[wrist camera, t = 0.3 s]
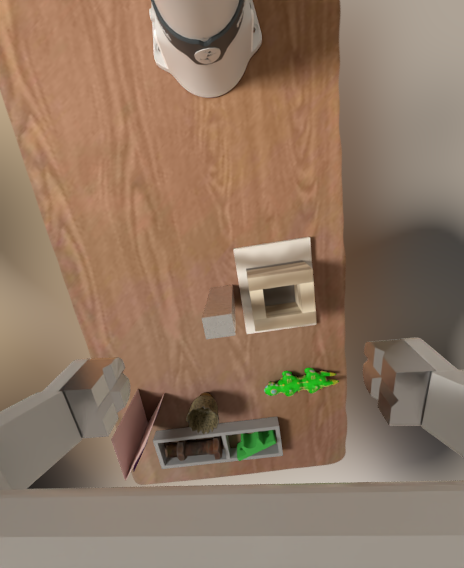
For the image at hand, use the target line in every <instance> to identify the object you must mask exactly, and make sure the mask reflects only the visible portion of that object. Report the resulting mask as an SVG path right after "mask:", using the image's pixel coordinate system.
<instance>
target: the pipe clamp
mask: <svg viewBox="0 0 464 568" xmlns="http://www.w3.org/2000/svg"><path fill="white" fill-rule="evenodd" d="M274 444H276V439H275V433H274V430H268V431H259V432H254V433H252V434H246V433H242V434H241V442H240V443H238V444H237V459H238V460H239V461H241V460H243V459H245V458H247V457H249V456H251V455H253V454H255V453H257V452H259V451H261V450H264V449H266V448H268V447H270V446H272V445H274Z"/></svg>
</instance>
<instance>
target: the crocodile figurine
mask: <svg viewBox="0 0 464 568" xmlns="http://www.w3.org/2000/svg"><path fill="white" fill-rule="evenodd" d="M320 372H321V371H320ZM320 372H318V373H319V374H318V373H317V372H315V371H314V369H312V368H306V369H305V373H306V376H305V375H304V376H303V378H302V377H301V378H302V379H301V378H300V377H299V378H298V377H297V376H295V377H294V376H293V375H292V372H289V371H284V372H283V373H282V375H283V379H282V378H281V380H279V381H278V383H274V382H272V383H270V382H268V383H269V385H268V386H266V387H265V389H264V392H265V393H266V394H267V395H271V396H274V395H276V394H279V392H281V393H284V394H286V396H292V395H293V394H294V393H295V392H296V391H298V392H300V390H301V389H303V388H305V389H303V390H307V391H309V393H315V392H316V391H317V390H318V389H319V388H321V389H322V388H323V387H328V386H330V385H332V384H333V385H334V384H337V383H338V382H339V381H337V380H335V379H333V380H332V379H330V380H327V379H326V377H325V376H332V375H333V376H335V375H336V374H335V373H332V372H330V373H328V372H325V371H322V372H321V373H320Z"/></svg>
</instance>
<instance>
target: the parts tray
mask: <svg viewBox="0 0 464 568" xmlns="http://www.w3.org/2000/svg"><path fill="white" fill-rule="evenodd" d="M268 430H275V431H276V439H277V443H276V444H274V445H272V446H270V447H268V448H266V449H264V450H261V451H259V452H257V453H255V454H253V455H251V456H249V457H247V458H245V459H243V460H248V459H257V458H266V457H275V456H283V451H282V444H281V436H280V429H279V423H278V418H277V417H271V418H262V419H254V420H246V421H237V422H229V423H220V424H218V427H217V428H214V430H213V432H211V430H210V432H209V433H208V434H207V433H205V434H203V433H202V432H201V431H200V433H197V430H196V431H194V432H192V431H191V428H189V427H186V428H178V429H170V430H161V431H156V433H155V436H154V439H153V442H154V445H155V449H156V452H157V455H158V458H159V461H160V464H161V467H162V469H166V468H175V467H184V466H193V465H202V464H211V463H221V462H230V461H239V460H238V459H237V448H230V444H229V439H228V435H233V434H242V433H250V432H259V431H268ZM216 436H222V440H223V445H224V449H223V453H222V458H221V459H218V460H215V456H214V454H213V455H209V454H208V455H197V456H187V458H186V459H185V460H184V461H180V460H179V459H178V458H177V457H175V458H167V457H166V454H165V446H164V442H173V441H181V440H190V439H198V438H207V437H216Z"/></svg>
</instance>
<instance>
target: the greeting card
mask: <svg viewBox="0 0 464 568" xmlns="http://www.w3.org/2000/svg"><path fill="white" fill-rule="evenodd" d="M164 394H165V393H164ZM163 396H164V395H163ZM162 399H163V397H162ZM162 399H161V400H160V402H159V404H158V406H157V408H156V410H155V412H154V413H153V415H152V417H151V419H150V421H149V423H148V422H147V418H146V415H145V411H144V407H143V404H142V400H141V397H140V393H139V390H137V392H136V394H135V395H134V397H133V399H132V401H131V403H130V405H129V407H128V409H127V411H126V413H125V415H124V416H123V418H122V420H121V422H120V424H119V426H118V428H117V430H116V432H115V434H114V436H113V438H112V443H113V446H114V449H115V452H116V455H117V457H118V461H119V463H120V467H121V470H122V472H123V475H124V478H125V480H126V479H127V477H128V475H129V474H130V472H131V470H132V468H133V466H134V470H135V468H136V466H137V464H138V462H139V459H140V457H141V455H142V453H143V450H144V448H145V446H146V444H147V441H148V437H149V434H150V431H151V429H152V426H153V423H154V421H155V419H156V417H157V415H158V412H159V410H160V407H161V402H162Z"/></svg>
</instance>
